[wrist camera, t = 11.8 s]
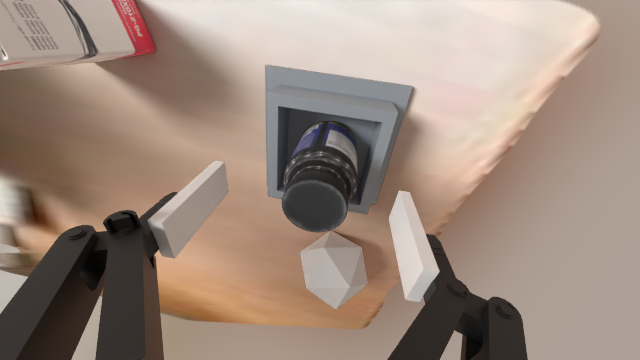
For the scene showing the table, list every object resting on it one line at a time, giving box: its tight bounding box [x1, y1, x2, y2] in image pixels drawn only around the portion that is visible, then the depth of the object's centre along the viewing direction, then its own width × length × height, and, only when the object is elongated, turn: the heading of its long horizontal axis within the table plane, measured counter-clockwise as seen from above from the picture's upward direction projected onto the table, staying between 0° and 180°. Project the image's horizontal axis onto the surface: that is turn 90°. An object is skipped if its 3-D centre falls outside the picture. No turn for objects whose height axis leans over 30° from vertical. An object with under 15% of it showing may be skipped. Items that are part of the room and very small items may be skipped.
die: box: [300, 231, 368, 310], centre depth 30 cm, size 8×9×10 cm
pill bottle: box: [282, 121, 358, 232], centre depth 20 cm, size 6×6×11 cm
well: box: [265, 65, 413, 214], centre depth 23 cm, size 14×14×4 cm
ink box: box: [0, 0, 156, 70], centre depth 17 cm, size 8×5×12 cm, turn 98°
